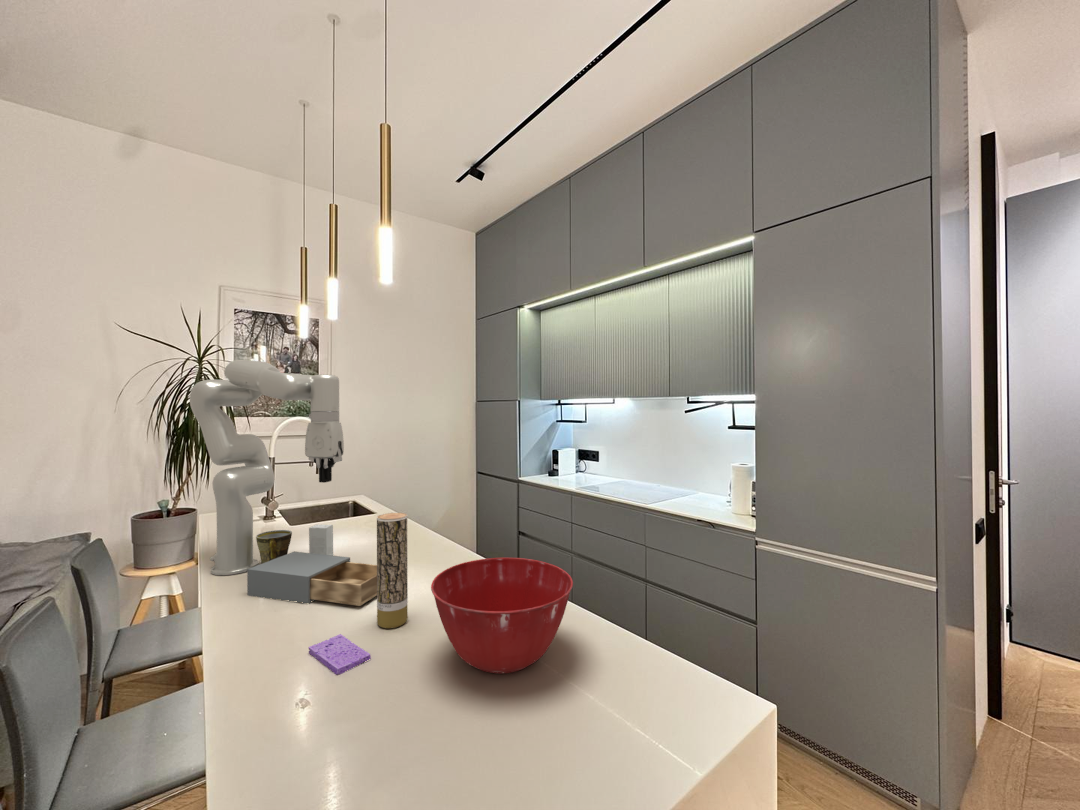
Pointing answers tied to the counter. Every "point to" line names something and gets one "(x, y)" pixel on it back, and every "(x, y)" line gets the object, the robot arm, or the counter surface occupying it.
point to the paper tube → (392, 570)
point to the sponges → (339, 654)
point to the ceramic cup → (273, 544)
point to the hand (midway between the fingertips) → (325, 481)
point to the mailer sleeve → (289, 575)
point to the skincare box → (321, 539)
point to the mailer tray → (345, 584)
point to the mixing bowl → (501, 610)
